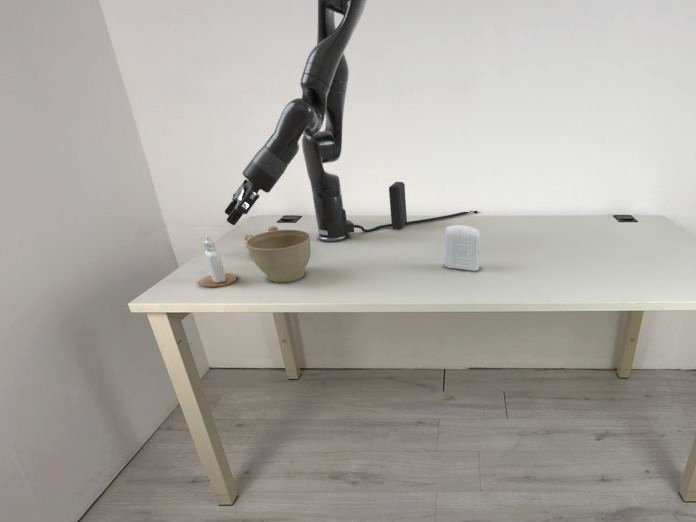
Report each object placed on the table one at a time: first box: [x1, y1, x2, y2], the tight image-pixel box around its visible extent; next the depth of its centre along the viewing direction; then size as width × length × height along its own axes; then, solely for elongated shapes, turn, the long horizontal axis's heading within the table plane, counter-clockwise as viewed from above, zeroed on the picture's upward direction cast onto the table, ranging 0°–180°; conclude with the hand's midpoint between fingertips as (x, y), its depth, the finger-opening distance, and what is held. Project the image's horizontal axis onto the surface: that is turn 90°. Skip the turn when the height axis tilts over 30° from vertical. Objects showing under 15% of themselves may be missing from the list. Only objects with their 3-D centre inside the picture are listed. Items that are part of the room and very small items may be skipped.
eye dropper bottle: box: [203, 235, 226, 283], centre depth 125 cm, size 4×6×12 cm
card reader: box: [388, 181, 408, 230], centre depth 169 cm, size 9×4×15 cm, turn 172°
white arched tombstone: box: [444, 224, 481, 272], centre depth 134 cm, size 10×4×12 cm, turn 73°
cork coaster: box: [199, 273, 237, 289], centre depth 128 cm, size 9×9×1 cm
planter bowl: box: [245, 229, 312, 283], centre depth 128 cm, size 16×16×11 cm
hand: (228, 218), depth 123 cm, fingers open, 8 cm apart
